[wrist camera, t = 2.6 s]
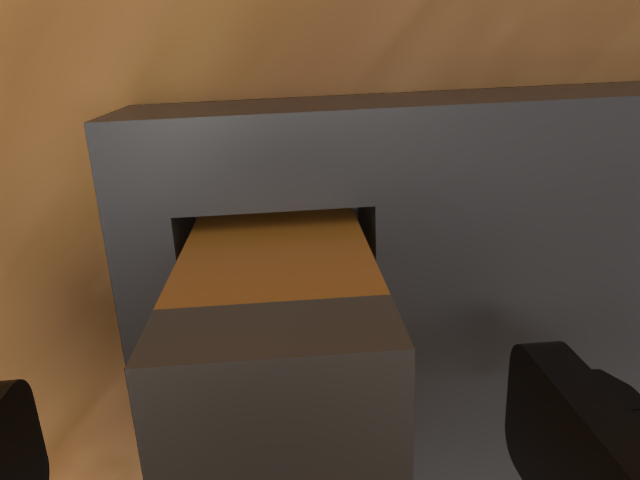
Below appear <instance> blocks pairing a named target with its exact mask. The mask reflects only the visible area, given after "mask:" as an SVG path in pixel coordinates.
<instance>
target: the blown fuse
mask: <svg viewBox="0 0 640 480" xmlns="http://www.w3.org/2000/svg"><path fill="white" fill-rule="evenodd" d="M124 371H125V377H126V382H127V388H128V394H129V400H130V406H131V411H132V417H133V423H134V429H135V435H136V440H137V446H138V452H139V458H140V464H141V469H142V475H143V480H413V457H414V388H415V348H414V346H413V343H412V341H411V339H410V337H409V334H408V332H407V330H406V328H405V325H404V323H403V321H402V319H401V316H400V314H399V312H398V310H397V307H396V305H395V303H394V301H393V298H392V296H391V294H390V292H389V290H388V287H387V285H386V283H385V281H384V278H383V276H382V274H381V272H380V269H379V267H378V265H377V263H376V260H375V258H374V256H373V254H372V251H371V249H370V247H369V245H368V242H367V240H366V238H365V236H364V233H363V231H362V229H361V227H360V225H359V222H358V220H357V218H356V216H355V213H354V211H353V209H352V208H339V209H322V210H304V211H287V212H269V213H252V214H234V215H217V216H199V217H198V218H197V220H196V222H195V224H194V226H193V228H192V230H191V232H190V234H189V236H188V239H187V241H186V243H185V245H184V247H183V249H182V251H181V253H180V255H179V257H178V259H177V261H176V263H175V265H174V267H173V270H172V272H171V274H170V276H169V278H168V280H167V282H166V284H165V286H164V288H163V290H162V292H161V294H160V296H159V299H158V301H157V303H156V305H155V307H154V309H153V311H152V313H151V315H150V317H149V319H148V321H147V323H146V325H145V327H144V330H143V332H142V334H141V336H140V338H139V340H138V342H137V344H136V346H135V348H134V350H133V352H132V354H131V356H130V358H129V361H128V363H127V365H126V367H125V369H124Z"/></svg>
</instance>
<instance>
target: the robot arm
mask: <svg viewBox="0 0 640 480" xmlns="http://www.w3.org/2000/svg"><path fill="white" fill-rule="evenodd" d="M505 437H506V443H507V448H508V451H509V455H510V458H511V460H512V463H513V465H514V467H515V468H516V470H517V472H518V474H519V475H520V477H521V479H522V480H640V394H639V393H638V392H637V391H636V390H635V389H634V388H633V387H632V386H631V385H629V384H627V383H625V382H623V381H621V380H620V379H618V378H616V377H614V376H612V375H610V374H609V373H607V372H605V371H603V370H601V369H591V368H590V367H589V366H588V365H587V364H586V363H585V362H584V361H583V360H582V359H581V358H580V357H579V356H578V355H577V354H576V353H575V352H574V351H573V350H572V349H571V348H570V347H569V346H568V345H567V344H566V343H565V342H563V341H551V342H537V343H524V344H516V345H514V346H513V348H512V350H511V353H510V360H509V373H508V387H507V400H506V414H505ZM0 480H49V461H48V456H47V451H46V447H45V443H44V439H43V435H42V430H41V426H40V422H39V418H38V413H37V409H36V405H35V401H34V396H33V393H32V390H31V387H30V385H29V384H28V383H27V382H26V381H25V380H22V379H19V380H5V381H0Z"/></svg>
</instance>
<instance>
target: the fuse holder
mask: <svg viewBox="0 0 640 480" xmlns="http://www.w3.org/2000/svg"><path fill="white" fill-rule="evenodd" d="M84 127H85V133H86V139H87V145H88V151H89V157H90V162H91V168H92V174H93V180H94V186H95V192H96V198H97V203H98V209H99V215H100V221H101V227H102V233H103V238H104V244H105V250H106V256H107V262H108V268H109V273H110V279H111V285H112V291H113V297H114V303H115V308H116V314H117V320H118V326H119V332H120V338H121V343H122V349H123V355H124V361H125V367H126V365H127V363H128V361H129V358H130V356H131V354H132V352H133V350H134V348H135V346H136V344H137V342H138V340H139V338H140V336H141V334H142V332H143V330H144V327H145V325H146V323H147V321H148V319H149V317H150V315H151V313H152V311H153V309H154V307H155V305H156V303H157V301H158V299H159V296H160V294H161V292H162V290H163V288H164V286H165V284H166V282H167V280H168V278H169V276H170V274H171V272H172V270H173V267H174V265H175V263H176V261H177V259H178V257H179V255H180V253H181V251H182V249H183V247H184V245H185V243H186V241H187V239H188V236H189V234H190V232H191V230H192V228H193V226H194V224H195V222H196V220H197V218H198V217H199V216H217V215H234V214H252V213H269V212H287V211H304V210H322V209H339V208H352V209H353V211H354V213H355V216H356V218H357V220H358V222H359V225H360V227H361V229H362V231H363V233H364V236H365V238H366V240H367V242H368V245H369V247H370V249H371V251H372V254H373V256H374V258H375V260H376V263H377V265H378V267H379V269H380V272H381V274H382V276H383V278H384V281H385V283H386V285H387V287H388V290H389V292H390V294H391V296H392V298H393V301H394V303H395V305H396V307H397V310H398V312H399V314H400V316H401V319H402V321H403V323H404V325H405V328H406V330H407V332H408V334H409V337H410V339H411V341H412V343H413V346H414V348H415V388H414V457H413V480H522V479H521V477H520V475H519V474H518V472H517V470H516V468H515V467H514V465H513V463H512V460H511V458H510V455H509V451H508V448H507V443H506V437H505V414H506V400H507V387H508V373H509V360H510V353H511V350H512V348H513V346H514V345H516V344H524V343H537V342H551V341H563V342H565V343H566V344H567V345H568V346H569V347H570V348H571V349H572V350H573V351H574V352H575V353H576V354H577V355H578V356H579V357H580V358H581V359H582V360H583V361H584V362H585V363H586V364H587V365H588V366H589V367H590V368H591V369H601V370H603V371H605V372H607V373H609V374H610V375H612V376H614V377H616V378H618V379H620V380H621V381H623V382H625V383H627V384H629V385H631V386H632V387H633V388H634V389H635V390H636V391H637V392H638V393H639V394H640V81H630V82H609V83H587V84H566V85H545V86H524V87H503V88H482V89H461V90H440V91H419V92H398V93H377V94H355V95H334V96H313V97H292V98H271V99H250V100H229V101H208V102H187V103H166V104H145V105H129V106H126V107H123V108H121V109H118V110H116V111H113V112H111V113H108V114H105V115H103V116H100V117H98V118H95V119H92V120H90V121H87V122H85V123H84Z"/></svg>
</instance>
